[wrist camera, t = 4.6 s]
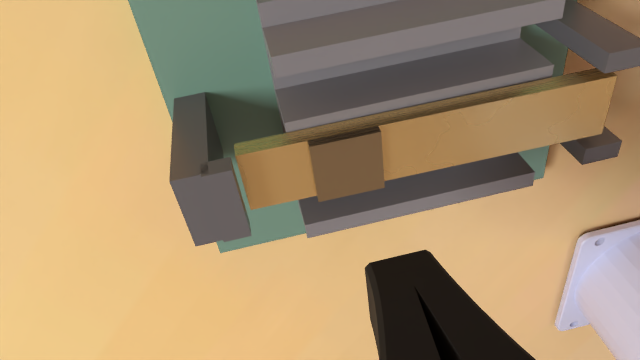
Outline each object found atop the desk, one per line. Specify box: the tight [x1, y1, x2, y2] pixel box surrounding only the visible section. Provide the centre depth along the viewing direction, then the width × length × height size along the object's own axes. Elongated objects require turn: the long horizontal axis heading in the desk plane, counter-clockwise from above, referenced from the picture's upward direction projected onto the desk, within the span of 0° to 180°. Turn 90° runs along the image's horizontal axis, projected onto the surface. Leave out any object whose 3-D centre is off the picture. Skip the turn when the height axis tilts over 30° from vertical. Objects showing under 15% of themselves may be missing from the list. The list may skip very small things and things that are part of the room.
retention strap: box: [234, 68, 617, 210], centre depth 15 cm, size 11×2×1 cm, turn 97°
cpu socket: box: [128, 0, 640, 253], centre depth 16 cm, size 14×12×5 cm
